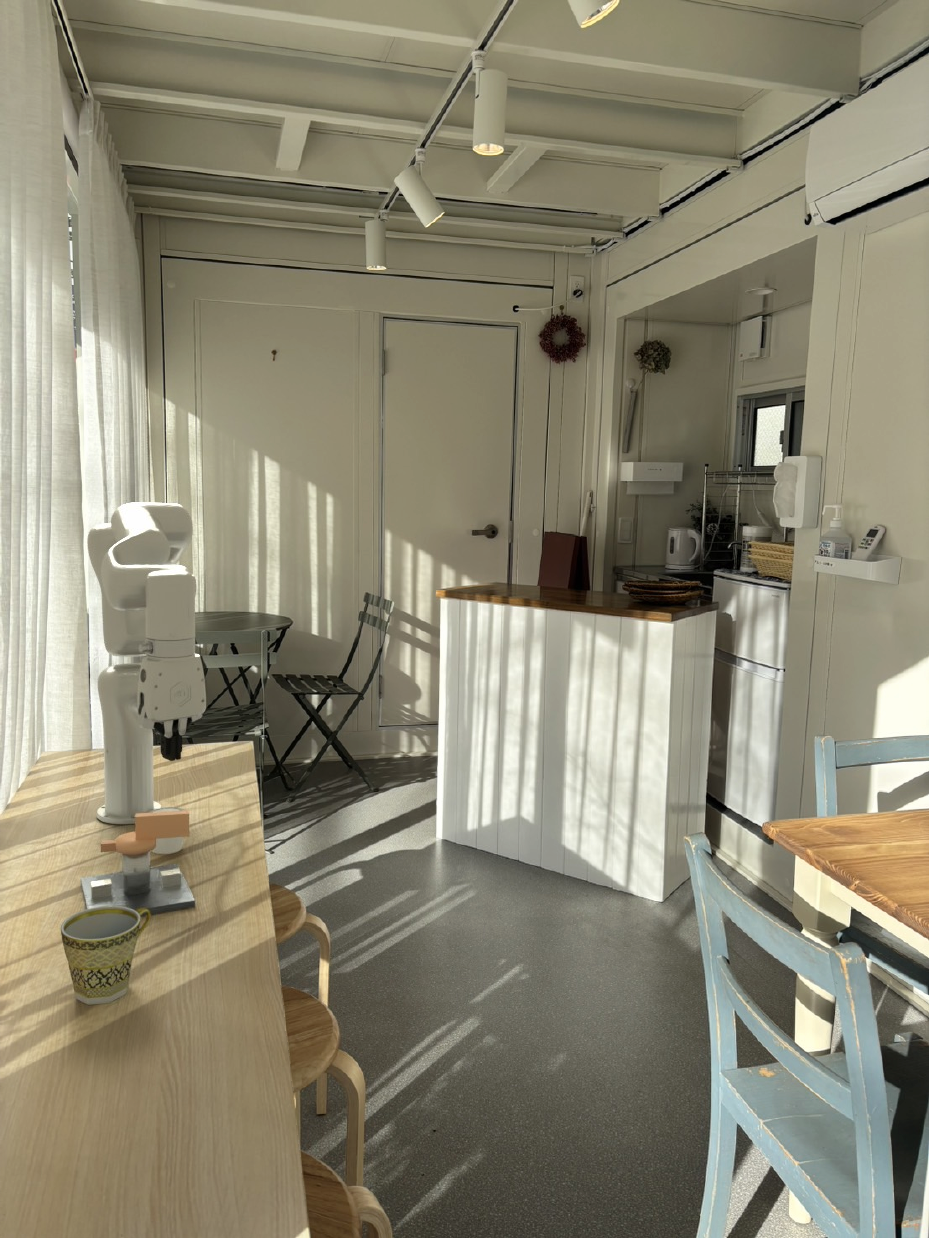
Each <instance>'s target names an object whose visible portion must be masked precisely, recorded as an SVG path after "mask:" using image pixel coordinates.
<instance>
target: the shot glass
mask: <svg viewBox="0 0 929 1238" xmlns="http://www.w3.org/2000/svg"><path fill="white" fill-rule="evenodd" d="M170 811H186V810H185V809H183V808H180V807H175V806H168V807H162V808H158V809H154V810H152V811H150V812H149V813H153V812H170ZM183 843H184V837H176V838H161V839H156V847H155V849H153V850H151V852H153V853H154V854H159V855H167V854H174V853H177V852H180V851H181V850H183V845H184V844H183Z"/></svg>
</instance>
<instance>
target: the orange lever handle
mask: <svg viewBox="0 0 929 1238" xmlns="http://www.w3.org/2000/svg"><path fill="white" fill-rule="evenodd" d="M134 825H135V829H134V831H129V832H125V833H122V834H120V835H118V836H116V838H115V839H112V840H101V841H100V842H101V843H100V853H107V852H109V853H111V852H117V853H118V854H121V855H122V854H127V855H135V854H142V853H146V852H149V851H150V852H152V850H153V849H155V847H156V839H161V838H176V837H183V838H187V837H190V810H189V809H187V810H185V811H170V812H153V813H137V814H136V815H135V823H134Z"/></svg>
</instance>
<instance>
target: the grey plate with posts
mask: <svg viewBox="0 0 929 1238" xmlns="http://www.w3.org/2000/svg"><path fill="white" fill-rule="evenodd" d="M121 868H122V869H121V870H122V871H119V872H111V873H104V874H98V875H92V876H84V877H80V887H81V891H82V897H83V900H84V904H85V910H87V909H91V908H95V907H102V906H121V907H127V908H130V909H133V910H137V909H139V908H146V909H148V910H149V911H150V914H151V916H152V915H156V914H163V913H169V912H175V911H180V910H181V911H182V910H186V909H192V908H193V909H194V908H196V900H195V897H194V895H193V893H192V891H191V889H190V887H189V885H188V882H187V880H186V879H185V876H184V874H183V873H182V870H181V869H180V866H179V864H178V863H173V864H168V865H167V864H166V865H160V866H152V867H151V851H149V852H146V853H142V854H135V855H127V854H121ZM140 917H147V913H146V912H144V913H143V914H142V915H141V916H140Z"/></svg>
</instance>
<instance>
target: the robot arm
mask: <svg viewBox="0 0 929 1238" xmlns="http://www.w3.org/2000/svg"><path fill="white" fill-rule="evenodd" d="M193 526H194V525H193V520H192V517H191V514H190V513H189V510H187V509H186V508H185V507H184V506H182V505H181V504H178V503H166V502H164V503H162V502H129V503H126V504H122V505H120V506H119V507H117V508H116V509H115V510H114V511H113V513H112V515H111V518H110V523H109V522H108V523H103V524H99V525H96V526H93V527H92V528H91V529H90V530H89V531H88V535H87V538H86V539H87V553H88V557H89V561H90V564H91V566H92V568H93V569H92V570H93V571H94V574H95V576H96V579H97V581H98V583H99V586H100V587H99V588H100V592H101V610H102V611H101V612H102V613H101V614H102V615H101V616H102V634H103V644H104V647H105V650H106V652H107V653H108V654H109V655H111V656H113V657H121V658H124V657H125V658H126V657H128V658H129V657H130V658H131V657H142V660H141V662H131V663H129V662H128V663H118V664H114V665H110V666H107V667H105V668H104V669H103V670H102V671H101V672H100V673H99V675H98V678H97V693H98V698H99V703H100V709H101V716H102V732H103V734H102V735H103V771H104V773H103V776H104V779H103V780H104V804H103V805H102V806H100V807H99V808H97V810H96V817H97V819H98V820H99V821H101V822H103V823H106V824H110V825H111V824H112V825H132V824H134V825H135V815H136V814H137V813H149V812H150V811H152V810H154V809H158V808H163V807H162V804H161V803H159V802H157V801H155V800H154V793H155V792H154V791H155V790H154V734H153V733H154V732H153V730H154V731H155V732H156V733H157V734H158V735H160V737H159V738H160V754H161V756H162V758H163V759H165V760H166V761H167V760H168V761H169V762H174V761H175V760H176V761H178V760H179V761H180V760H181V759H182V752H183V735H185V734H186V730H187V729H188V727H189V726H190V724H191V723H193V722H195V721H198V720H200V719H201V718H203V714H204V713H205V711H206V709H207V693H206V683H205V682H206V681H205V674H204V673H205V672H204V666H203V663H202V658H201V654H198V653H196V596H197V579H196V576H195V575H194V574H193V573H192V571H191V570H190V569H189V568H188V567H187V566H184V565H179V564H177V563H178V562H180V560H181V559H182V557H183V555H184V554H185V552H186V551H187V550H188V548H189V546H190V545H191V542H192V540H193V534H194V533H193V531H194V527H193Z"/></svg>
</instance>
